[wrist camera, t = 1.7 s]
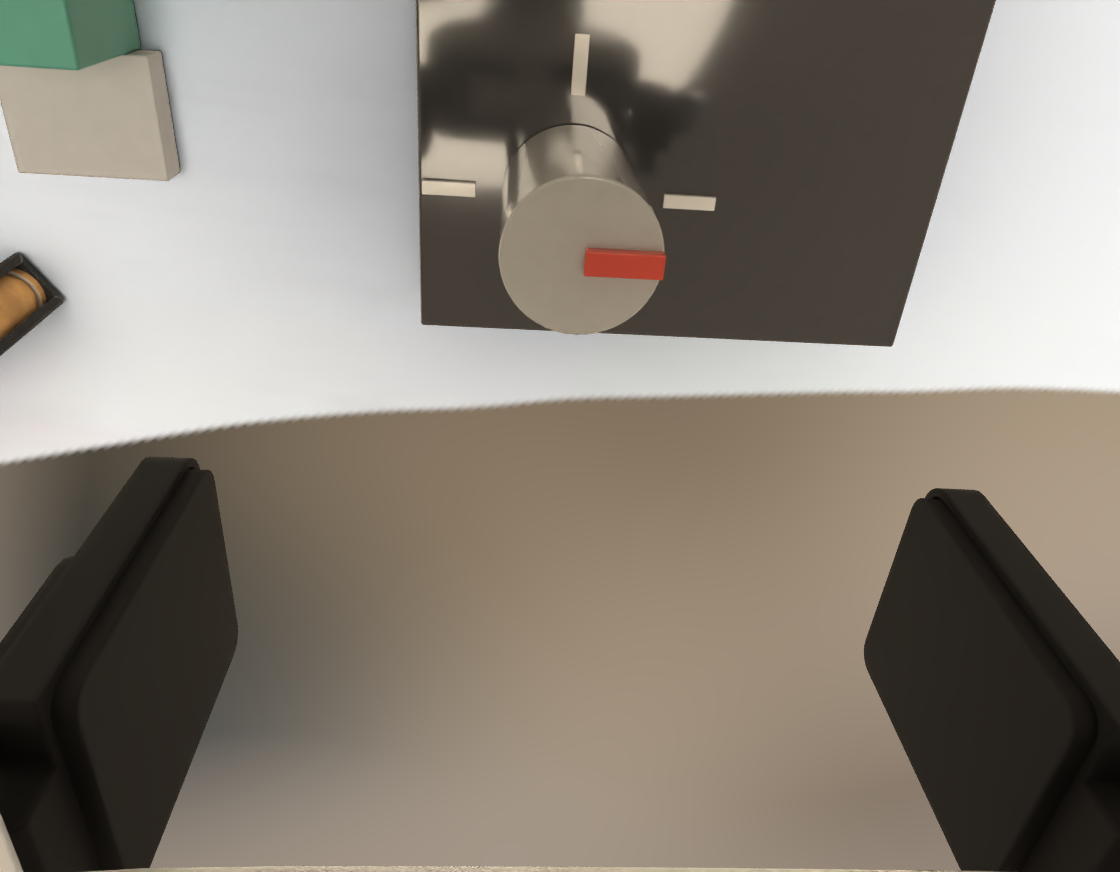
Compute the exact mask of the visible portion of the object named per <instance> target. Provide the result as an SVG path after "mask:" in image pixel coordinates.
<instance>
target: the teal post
mask: <svg viewBox="0 0 1120 872" xmlns="http://www.w3.org/2000/svg"><path fill="white" fill-rule="evenodd" d="M140 48H141V45H140V39H139V34H138V28H137V22H136V16H135V10H134V4H133V0H0V102H1V106H2V109H3V113H4V117H5V121H6V125H7V129H8V133H9V137H10V141H11V145H12V148H13V152H14V156H15V160H16V164H17V168H18V171H19V172H21V173H37V174H54V175H72V176H89V177H106V178H124V179H141V180H159V181H169V180H170V179H171V178H173V177H174V176H175V175H177V174H178V173H179V172H180V167H179V161H178V155H177V148H176V142H175V136H174V130H173V123H172V117H171V111H170V104H169V98H168V92H167V86H166V79H165V73H164V67H163V60H162V54H161V52H160V51H152V50H139V49H140Z"/></svg>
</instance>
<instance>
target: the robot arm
mask: <svg viewBox="0 0 1120 872" xmlns="http://www.w3.org/2000/svg"><path fill="white" fill-rule="evenodd" d="M237 637H238V625H237V618H236V612H235V605H234V599H233V593H232V587H231V580H230V574H229V568H228V562H227V555H226V549H225V543H224V537H223V530H222V524H221V518H220V512H219V506H218V499H217V493H216V487H215V481H214V476H213V474H212V472H211V471H209V470H200V468H199V465H198V463H197V461H196V460H195V459H193V458H174V457H146V458H145V459H144V460H143V461H142V462H141V463H140V464H139V466H138V467H137V469H136V470H135V471H134V473H133V474H132V476H131V477H130V478H129V480H128V481H127V483H126V484H125V485H124V487H123V488H122V490H121V491H120V492H119V494H118V495H117V497H116V498H115V500H114V501H113V502H112V504H111V505H110V507H109V508H108V510H107V511H106V512H105V514H104V515H103V516H102V518H101V519H100V521H99V522H98V524H97V525H96V526H95V528H94V529H93V531H92V532H91V533H90V535H89V536H88V537H87V539H86V540H85V542H84V543H83V545H82V546H81V548H80V549H79V550H78V552H77V553H76V554H75V556H70V557H68V558H65V559H63V560H62V561H61V562H60V563H59V564H58V565H57V566H56V567H55V568H54V570H53V571H52V573H51V574H50V575H49V577H48V578H47V580H46V581H45V582H44V584H43V585H42V586H41V588H40V589H39V591H38V592H37V593H36V595H35V596H34V597H33V599H32V600H31V602H30V603H29V604H28V606H27V607H26V608H25V610H24V611H23V612H22V614H21V615H20V617H19V618H18V619H17V621H16V622H15V623H14V625H13V626H12V627H11V629H10V630H9V632H8V633H7V634H6V636H5V637H4V638H3V640H2V641H1V643H0V872H1120V662H1119V660H1118V659H1117V658H1116V657H1115V656H1114V654H1113V653H1112V652H1111V651H1110V649H1109V648H1108V647H1107V646H1106V645H1105V644H1104V642H1103V641H1102V640H1101V639H1100V637H1099V636H1098V635H1097V634H1096V632H1095V631H1094V630H1093V629H1092V627H1091V626H1090V625H1089V624H1088V622H1087V621H1086V620H1085V619H1084V618H1083V616H1082V615H1081V614H1080V613H1079V611H1078V610H1077V609H1076V608H1075V607H1074V605H1073V604H1072V603H1071V602H1070V600H1069V599H1068V598H1067V597H1066V596H1065V594H1064V593H1063V592H1062V591H1061V589H1060V588H1059V587H1058V586H1057V585H1056V583H1055V582H1054V581H1053V580H1052V578H1051V577H1050V576H1049V575H1048V574H1047V572H1046V571H1045V570H1044V569H1043V567H1042V566H1041V565H1040V564H1039V562H1038V561H1037V560H1036V559H1035V558H1034V556H1033V555H1032V554H1031V553H1030V551H1029V550H1028V549H1027V548H1026V547H1025V545H1024V544H1023V543H1022V542H1021V540H1020V539H1019V538H1018V537H1017V535H1016V534H1015V533H1014V532H1013V531H1012V529H1011V528H1010V527H1009V526H1008V524H1007V523H1006V522H1005V521H1004V520H1003V518H1002V517H1001V516H1000V515H999V514H998V512H997V511H996V510H995V509H994V507H993V506H992V505H991V504H990V502H989V501H988V500H987V499H986V497H985V496H984V495H983V494H981V493H980V492H979V491H976V490H965V489H964V490H963V489H939V488H938V489H937V488H936V489H933V490H931V491H930V492H929V493H928V494H927V495H926V497H925V498H920V499H918V500H917V501H916V502H915V503H914V505H913V507H912V509H911V512H910V515H909V518H908V521H907V524H906V527H905V530H904V532H903V535H902V538H901V541H900V544H899V546H898V549H897V552H896V555H895V558H894V561H893V564H892V566H891V569H890V572H889V575H888V578H887V581H886V584H885V587H884V590H883V592H882V595H881V598H880V601H879V604H878V606H877V609H876V612H875V615H874V618H873V621H872V624H871V626H870V629H869V632H868V635H867V638H866V641H865V645H864V659H865V664H866V667H867V670H868V672H869V675H870V677H871V679H872V681H873V683H874V685H875V687H876V689H877V691H878V694H879V696H880V698H881V700H882V702H883V705H884V707H885V708H886V711H887V713H888V715H889V717H890V719H891V722H892V724H893V726H894V728H895V730H896V732H897V735H898V737H899V739H900V741H901V743H902V745H903V747H904V750H905V752H906V754H907V756H908V758H909V760H910V762H911V765H912V767H913V769H914V771H915V773H916V775H917V777H918V779H919V782H920V783H921V786H922V788H923V790H924V792H925V794H926V797H927V799H928V801H929V803H930V805H931V807H932V809H933V811H934V814H935V816H936V818H937V820H938V822H939V824H940V827H941V829H942V831H943V833H944V835H945V837H946V839H947V842H948V844H949V846H950V848H951V850H952V852H953V854H954V857H955V859H956V861H957V863H958V865H959V867H960V869H961V871H944V870H942V871H940V870H938V871H937V870H863V869H860V870H859V869H786V868H779V869H778V868H673V867H670V868H669V867H668V868H667V867H662V868H661V867H521V866H519V867H518V866H507V867H506V866H504V867H503V866H482V867H481V866H264V867H263V866H262V867H198V868H197V867H194V868H150V865H151V863H152V860H153V858H154V855H155V853H156V850H157V848H158V845H159V843H160V840H161V837H162V835H163V833H164V830H165V828H166V825H167V822H168V820H169V817H170V815H171V812H172V810H173V807H174V805H175V802H176V800H177V797H178V794H179V792H180V789H181V787H182V785H183V782H184V779H185V777H186V774H187V772H188V769H189V767H190V764H191V762H192V759H193V757H194V754H195V751H196V749H197V746H198V744H199V741H200V739H201V736H202V734H203V731H204V729H205V726H206V724H207V721H208V719H209V716H210V714H211V711H212V709H213V706H214V703H215V701H216V698H217V696H218V693H219V691H220V688H221V686H222V683H223V681H224V678H225V676H226V673H227V671H228V668H229V666H230V663H231V660H232V658H233V655H234V652H235V649H236V644H237Z"/></svg>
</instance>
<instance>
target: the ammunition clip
mask: <svg viewBox="0 0 1120 872" xmlns="http://www.w3.org/2000/svg"><path fill="white" fill-rule="evenodd" d="M62 303H63V299H62V297H61V296H60V295H59V294H58V293H57V292H56V291H55V290H54V289H53V288H52V287H51V286H50V285H49V284H48V283H47V282H46V281H45V280H44V279H43V278H42V276H41V275H40V274H39V273H38V272H37V271H36V270H35V269H34V268H33V267H32V266H31V265H30V264H29V263H28V262H27V261H26V260H25V259H24V258H23V257H22V256H21V254H16V253H14V254H13V255H12V256H10V257H9V258H7V259H6V260H4V261H3V262H1V263H0V356H1V355H2V354H3V353H4V352H5V351H7V350H8V349H9V348H10V347H11V346H13V345H14V344H15V343H16V342H17V341H18V340H20V339H21V338H22V337H23V336H24V335H26V334H27V333H28V332H29V331H30V330H32V329H33V328H34V327H35V326H36V325H38V324H39V323H40V322H41V321H42V320H43V319H45V318H46V317H47V316H48V315H49V314H51V313H52V312H53V311H54V310H55V309H57V308H58V307H59V306H60V305H61V304H62Z"/></svg>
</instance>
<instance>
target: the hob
mask: <svg viewBox="0 0 1120 872" xmlns="http://www.w3.org/2000/svg"><path fill="white" fill-rule="evenodd" d="M995 1H996V0H416V45H417V106H418V167H419V228H420V289H421V323H422V324H423V325H440V326H461V327H483V328H504V329H526V330H547V331H554V330H551V329H548V328H545V327H544V326H542V325H540V324H538V323H536V322H534V321H533V320H532V319H530V318H529V317H527V316H526V315H525V314H524V313H523V312H522V311H521V310H520V309H519V308H518V307H517V306H516V304H515V303H514V302H513V301H512V299H511V297H510V296H509V294H508V292H507V290H506V288H505V286H504V284H503V281H502V277H501V274H500V268H499V255H498V253H499V237H500V220H501V204H502V189H503V181H504V177H505V173H506V171H507V168H508V165H509V164H510V162H511V160H512V158H513V156H514V155H515V154H516V152H517V151H518V150H519V149H520V148H521V146H522V145H523V144H524V143H525V142H527V141H528V140H529V139H530V138H532V137H533V136H535V135H537V134H538V133H540V132H542V131H544V130H547V129H549V128H553V127H556V126H563V125H580V126H586V127H590V128H593V129H596V130H598V131H600V132H602V133H604V134H606V135H607V136H609V137H611V138H612V139H613V140H614V141H615V142H617V143H618V144H619V145H620V147H621V148H622V149H623V150H624V151H625V153H626V154H627V156H628V157H629V159H630V161H631V163H632V165H633V167H634V169H635V171H636V173H637V176H638V178H639V180H640V182H641V184H642V187H643V189H644V191H645V193H646V195H647V197H648V200H649V202H650V204H651V206H652V208H653V210H654V213H655V215H656V217H657V219H658V221H659V224H660V227H661V230H662V233H663V238H664V246H665V255H666V263H665V270H664V277H663V280H659V283H658V285H657V287H656V289H655V291H654V293H653V294H652V296H651V297H650V299H649V300H648V301H647V303H646V304H645V305H644V306H643V307H642V308H641V309H640V310H639V311H638V312H637V313H636V314H635V315H634V316H632V317H631V318H629V319H628V320H627V321H625V322H623V323H622V324H620V325H618V326H616V327H614V328H611V329H608V330H606V331H602V332H598V333H611V334H633V335H654V336H675V337H697V338H718V339H739V340H761V341H782V342H804V343H825V344H846V345H868V346H889V347H891V346H892V345H893V343H894V339H895V336H896V333H897V329H898V326H899V323H900V319H901V316H902V313H903V309H904V306H905V303H906V299H907V296H908V293H909V289H910V286H911V283H912V279H913V276H914V273H915V269H916V266H917V263H918V259H919V256H920V252H921V249H922V246H923V242H924V239H925V236H926V232H927V229H928V226H929V222H930V219H931V216H932V212H933V209H934V206H935V202H936V199H937V196H938V192H939V189H940V186H941V182H942V179H943V176H944V172H945V169H946V165H947V162H948V159H949V155H950V152H951V149H952V145H953V142H954V139H955V135H956V132H957V129H958V125H959V122H960V119H961V115H962V112H963V109H964V105H965V102H966V99H967V95H968V92H969V88H970V85H971V82H972V78H973V75H974V72H975V68H976V65H977V62H978V58H979V55H980V52H981V48H982V45H983V42H984V38H985V35H986V32H987V28H988V25H989V22H990V18H991V15H992V12H993V8H994V5H995Z"/></svg>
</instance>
